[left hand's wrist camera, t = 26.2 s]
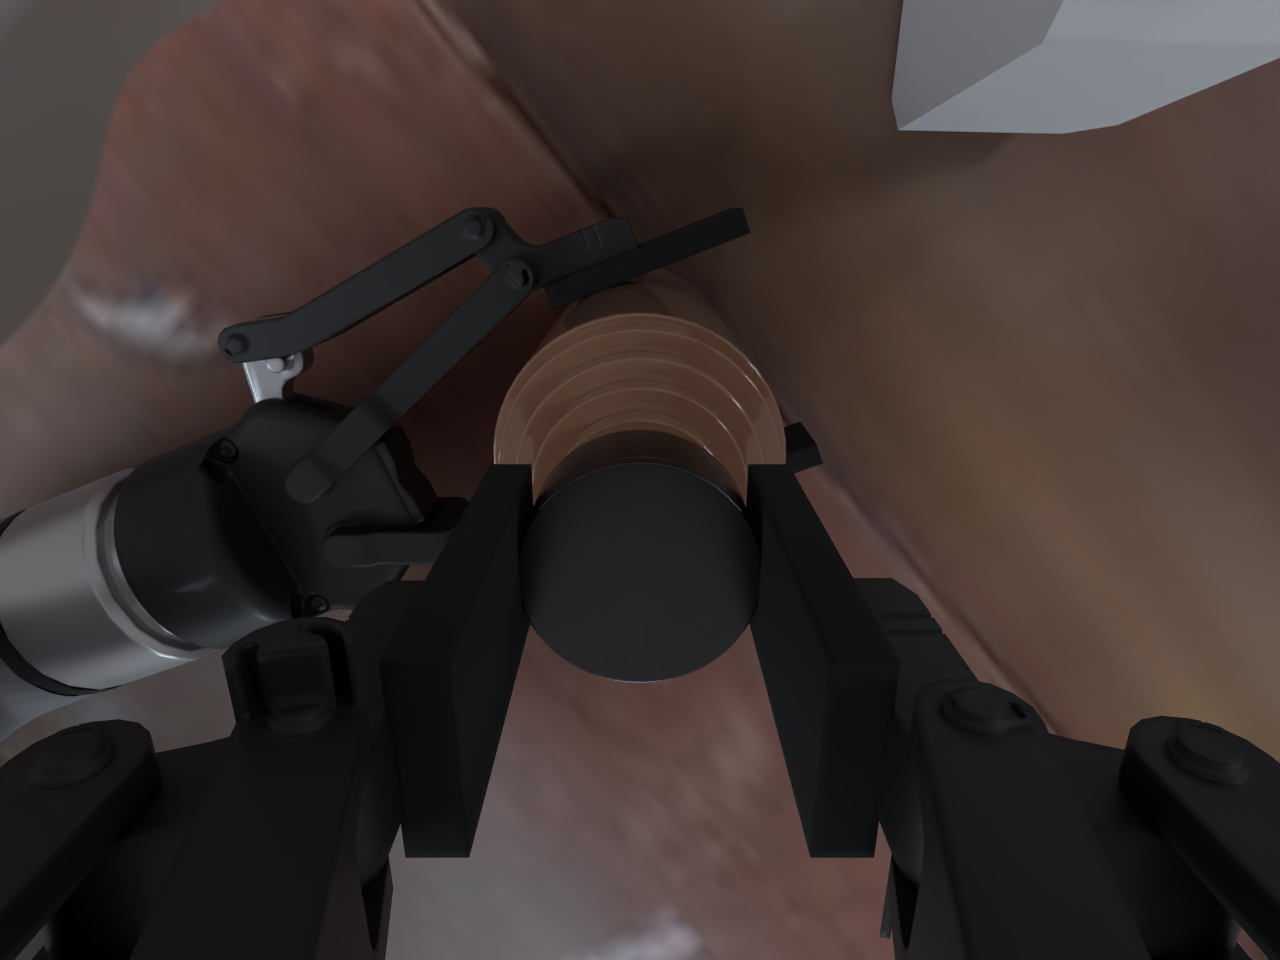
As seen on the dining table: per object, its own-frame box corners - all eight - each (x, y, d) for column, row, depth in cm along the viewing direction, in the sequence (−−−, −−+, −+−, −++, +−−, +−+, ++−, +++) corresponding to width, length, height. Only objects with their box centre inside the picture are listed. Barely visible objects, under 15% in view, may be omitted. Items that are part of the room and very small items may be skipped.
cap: (765, 442, 14) (783, 478, 12) (728, 637, 15) (741, 694, 14) (539, 416, 14) (524, 448, 12) (524, 615, 15) (509, 671, 13)
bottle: (755, 380, 32) (909, 616, 14) (613, 464, 34) (581, 782, 15) (668, 230, 30) (714, 272, 12) (520, 325, 32) (353, 497, 13)
